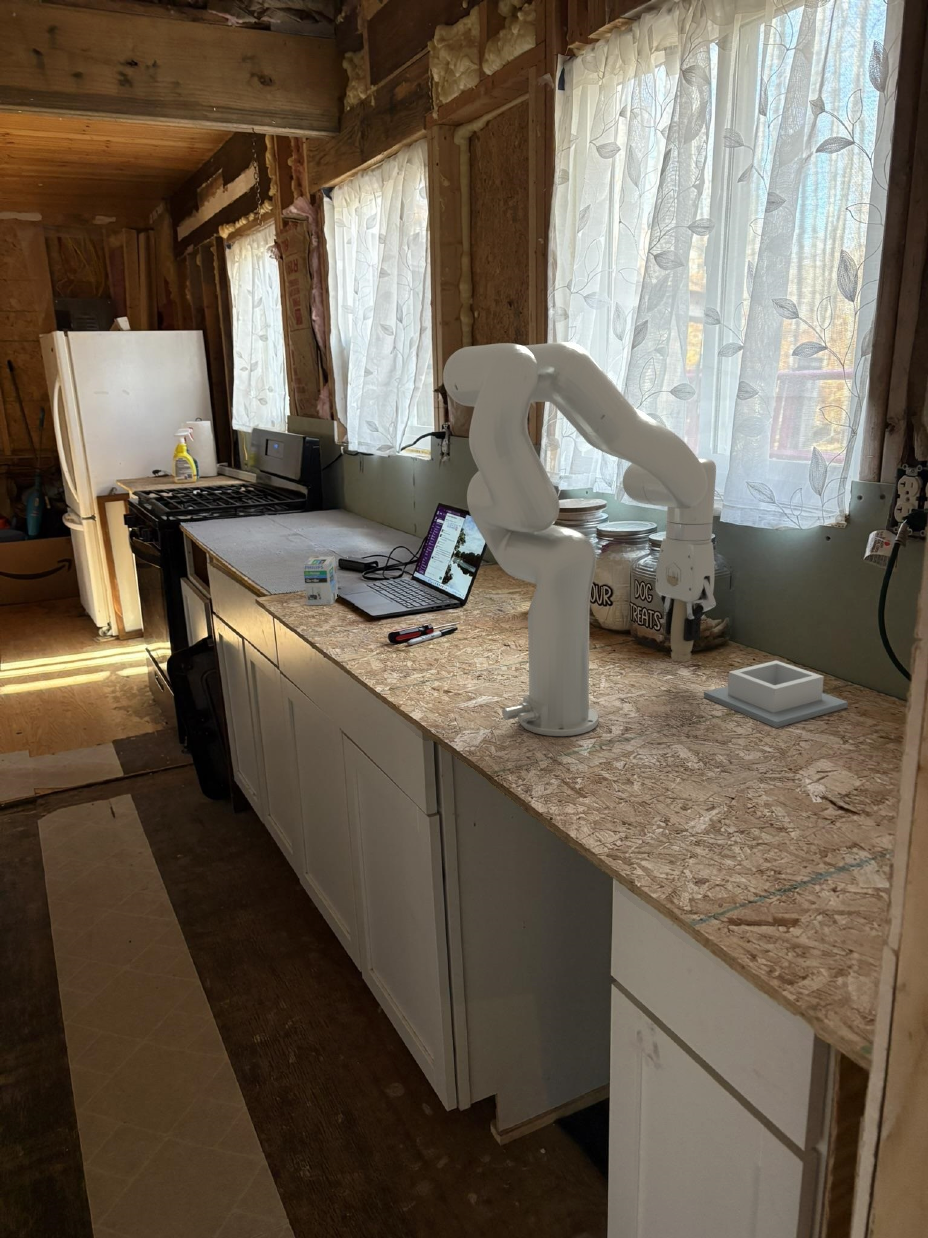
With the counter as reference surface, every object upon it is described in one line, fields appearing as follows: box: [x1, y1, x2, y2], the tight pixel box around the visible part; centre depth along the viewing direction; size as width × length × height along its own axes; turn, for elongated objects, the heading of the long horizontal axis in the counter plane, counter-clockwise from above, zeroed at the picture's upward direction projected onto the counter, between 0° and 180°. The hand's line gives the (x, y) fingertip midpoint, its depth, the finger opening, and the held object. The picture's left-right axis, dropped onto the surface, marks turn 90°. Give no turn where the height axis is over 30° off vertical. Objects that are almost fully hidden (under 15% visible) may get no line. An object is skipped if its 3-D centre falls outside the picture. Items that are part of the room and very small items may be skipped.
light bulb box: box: [303, 555, 339, 606], centre depth 223 cm, size 11×7×11 cm, turn 179°
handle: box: [667, 576, 696, 663], centre depth 151 cm, size 5×6×15 cm
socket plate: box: [703, 660, 849, 729], centre depth 145 cm, size 16×16×5 cm
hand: (682, 635), depth 152 cm, fingers closed on handle, 3 cm apart
